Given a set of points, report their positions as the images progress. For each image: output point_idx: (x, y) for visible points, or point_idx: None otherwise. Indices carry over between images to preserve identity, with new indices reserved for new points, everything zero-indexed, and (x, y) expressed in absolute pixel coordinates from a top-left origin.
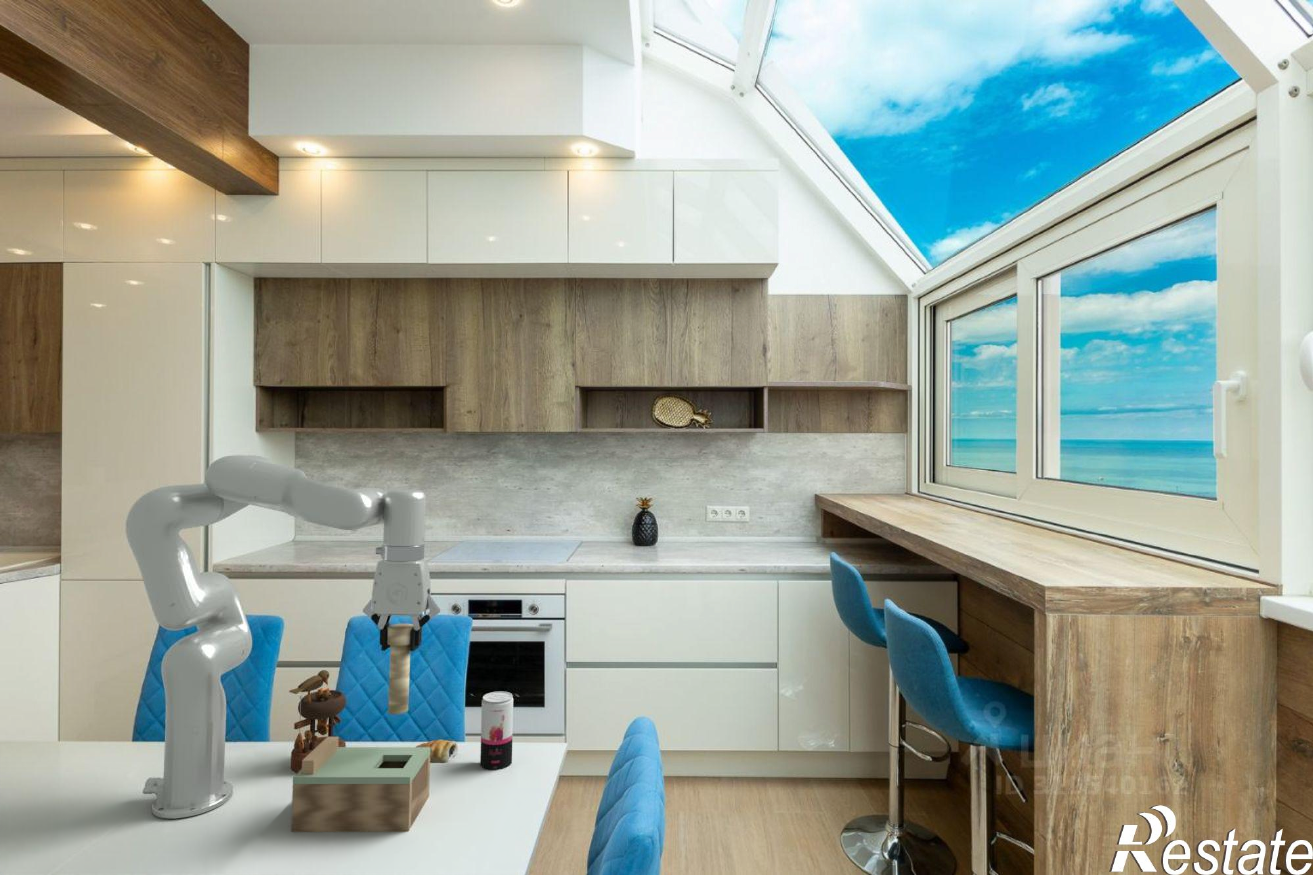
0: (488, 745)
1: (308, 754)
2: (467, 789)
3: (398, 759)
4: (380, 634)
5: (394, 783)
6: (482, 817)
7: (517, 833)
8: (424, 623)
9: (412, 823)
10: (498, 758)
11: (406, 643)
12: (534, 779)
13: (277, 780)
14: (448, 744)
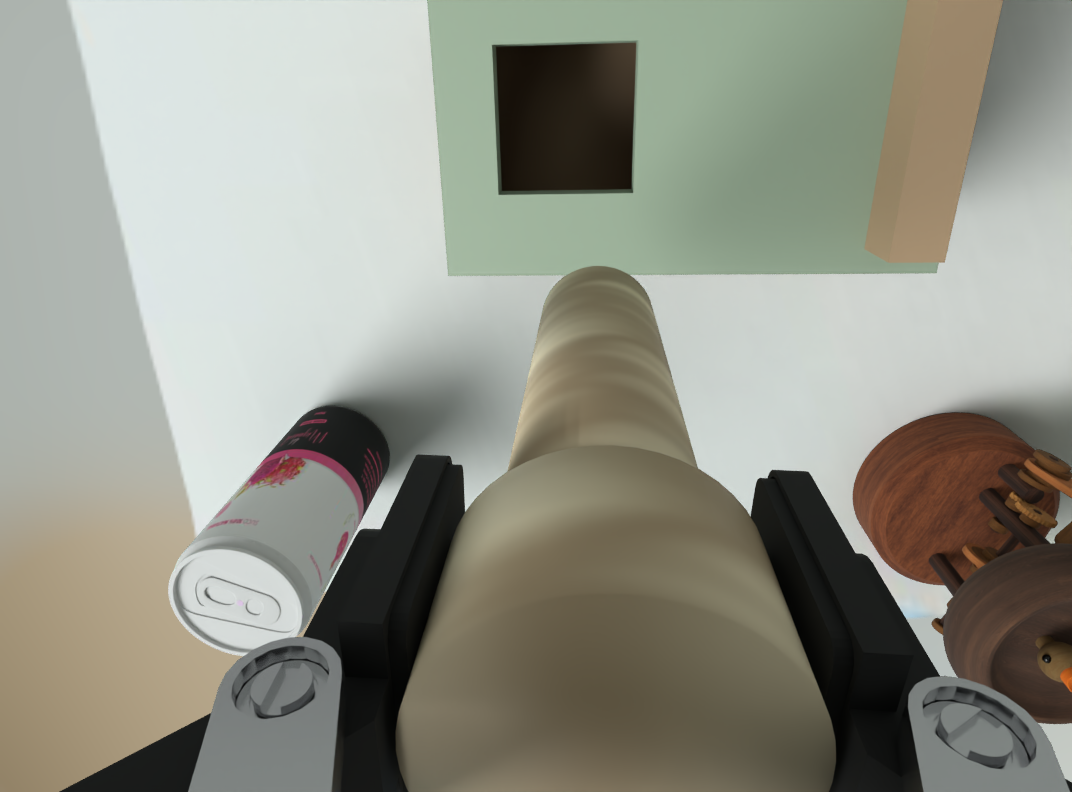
0: (319, 450)
1: (990, 454)
2: (382, 310)
3: (563, 190)
4: (909, 638)
5: None
6: (266, 124)
7: (111, 17)
8: (138, 760)
9: None
10: (300, 428)
11: (485, 494)
12: (194, 373)
13: (1050, 372)
14: None
